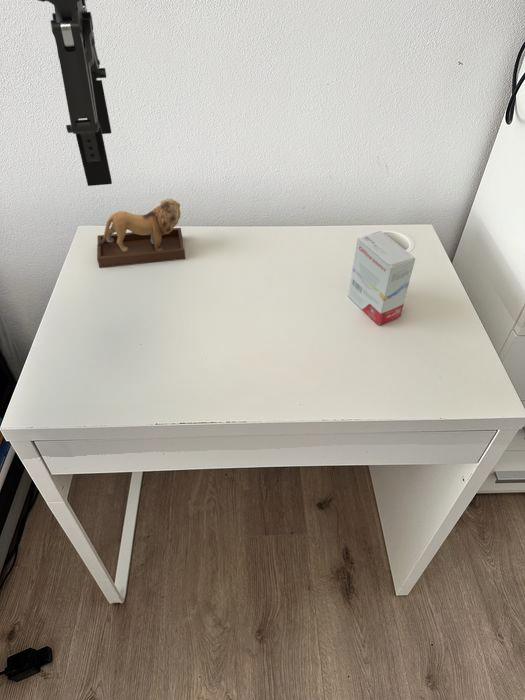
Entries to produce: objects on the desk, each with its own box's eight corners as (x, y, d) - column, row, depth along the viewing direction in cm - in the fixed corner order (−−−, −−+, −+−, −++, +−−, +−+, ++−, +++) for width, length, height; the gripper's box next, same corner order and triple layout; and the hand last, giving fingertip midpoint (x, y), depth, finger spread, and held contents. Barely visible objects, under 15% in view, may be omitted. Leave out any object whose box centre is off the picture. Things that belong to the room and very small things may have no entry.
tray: (99, 267, 95) (97, 258, 93) (99, 244, 99) (97, 235, 98) (185, 258, 97) (184, 249, 95) (181, 236, 102) (180, 227, 100)
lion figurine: (175, 236, 102) (177, 192, 96) (182, 251, 98) (184, 207, 92) (95, 240, 97) (92, 194, 91) (99, 257, 93) (96, 210, 87)
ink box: (401, 317, 87) (418, 257, 78) (377, 326, 85) (392, 267, 77) (369, 287, 92) (382, 228, 84) (346, 296, 90) (356, 237, 82)
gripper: (28, -75, 60) (74, 117, 75) (-3, -21, 43) (63, 212, 58) (97, -76, 61) (128, 113, 76) (93, -24, 44) (134, 206, 59)
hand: (100, 156), depth 67 cm, fingers open, 13 cm apart
